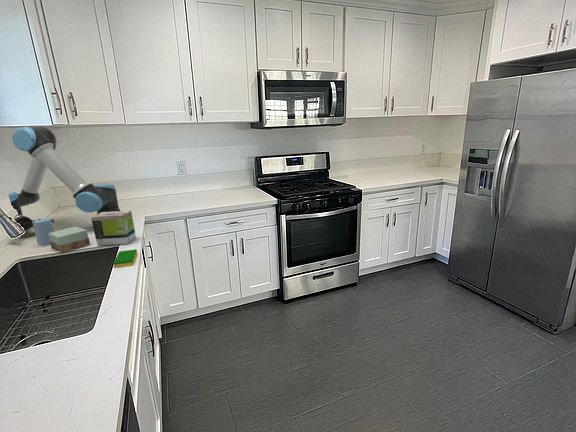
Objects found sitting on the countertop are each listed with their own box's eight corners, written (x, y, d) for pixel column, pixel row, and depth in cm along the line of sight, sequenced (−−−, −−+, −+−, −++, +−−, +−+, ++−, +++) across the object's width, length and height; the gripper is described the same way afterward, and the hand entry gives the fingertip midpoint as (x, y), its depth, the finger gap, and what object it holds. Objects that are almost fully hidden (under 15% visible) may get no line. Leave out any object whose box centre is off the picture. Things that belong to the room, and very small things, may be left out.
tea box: (136, 237, 163) (131, 210, 159) (127, 244, 153) (122, 215, 149) (107, 239, 163) (101, 211, 159) (96, 246, 153) (90, 216, 149)
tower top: (77, 233, 161) (76, 226, 160) (88, 238, 154) (86, 230, 153) (50, 241, 151) (48, 233, 150) (60, 245, 145) (58, 237, 143)
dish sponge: (114, 268, 128) (112, 263, 127) (120, 256, 141) (119, 251, 140) (133, 266, 130) (132, 260, 129) (137, 254, 143) (136, 248, 142)
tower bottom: (78, 241, 162) (77, 234, 160) (90, 245, 155) (88, 237, 154) (51, 249, 152) (49, 241, 151) (63, 253, 146) (61, 245, 144)
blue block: (51, 240, 163) (46, 218, 160) (57, 242, 160) (51, 219, 157) (38, 244, 158) (32, 221, 155) (43, 246, 155) (37, 223, 152)
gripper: (49, 223, 183) (66, 228, 172) (-6, 236, 163) (8, 243, 152) (46, 210, 181) (63, 215, 170) (-11, 222, 161) (4, 228, 150)
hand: (37, 228), depth 161 cm, fingers open, 13 cm apart
